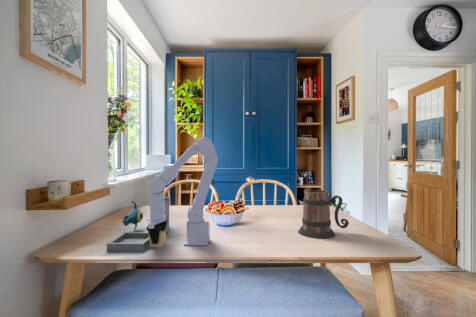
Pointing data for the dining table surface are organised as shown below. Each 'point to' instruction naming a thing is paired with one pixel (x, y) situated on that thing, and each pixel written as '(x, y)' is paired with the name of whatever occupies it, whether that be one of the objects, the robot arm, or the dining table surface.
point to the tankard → (319, 215)
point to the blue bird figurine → (133, 216)
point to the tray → (129, 242)
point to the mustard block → (161, 240)
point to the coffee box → (167, 213)
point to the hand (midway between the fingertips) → (157, 241)
